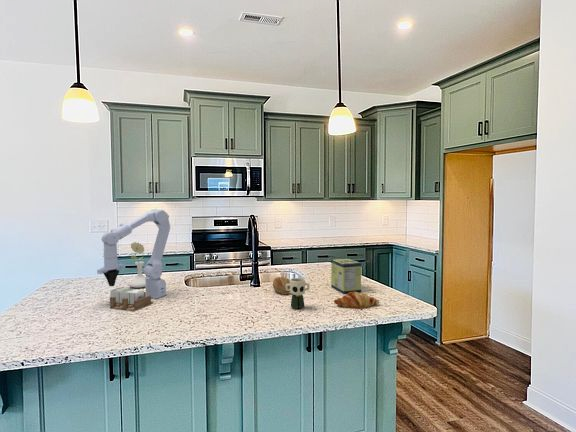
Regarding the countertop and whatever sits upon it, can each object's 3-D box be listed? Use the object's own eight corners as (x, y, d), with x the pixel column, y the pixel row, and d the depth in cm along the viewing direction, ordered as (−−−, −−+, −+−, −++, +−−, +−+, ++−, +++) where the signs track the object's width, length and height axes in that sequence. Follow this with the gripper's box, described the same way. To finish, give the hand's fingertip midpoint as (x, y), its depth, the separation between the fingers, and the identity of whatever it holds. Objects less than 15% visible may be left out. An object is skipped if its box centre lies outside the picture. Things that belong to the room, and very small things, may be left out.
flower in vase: (155, 285, 212) (154, 241, 210) (137, 290, 202) (136, 244, 200) (140, 282, 219) (139, 240, 217) (123, 287, 209) (121, 242, 207)
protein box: (347, 285, 210) (347, 258, 209) (361, 292, 195) (361, 263, 194) (330, 287, 207) (330, 259, 206) (343, 294, 192) (343, 264, 191)
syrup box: (110, 302, 176) (136, 305, 173) (109, 290, 176) (136, 292, 172) (118, 298, 182) (144, 301, 178) (118, 286, 181) (144, 289, 178)
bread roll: (277, 296, 189) (277, 281, 188) (269, 289, 203) (269, 274, 202) (295, 295, 192) (295, 279, 191) (286, 287, 206) (286, 273, 205)
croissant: (376, 310, 177) (374, 293, 180) (383, 306, 168) (381, 288, 171) (332, 311, 175) (331, 294, 178) (337, 307, 166) (335, 289, 169)
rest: (153, 302, 179) (153, 292, 178) (133, 311, 167) (133, 300, 166) (130, 300, 183) (130, 290, 183) (110, 308, 171) (109, 297, 171)
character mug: (286, 310, 166) (286, 281, 165) (284, 305, 173) (284, 278, 172) (310, 309, 167) (310, 281, 167) (308, 304, 174) (308, 277, 174)
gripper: (115, 254, 185) (116, 281, 186) (91, 259, 172) (92, 288, 173) (127, 255, 183) (128, 282, 184) (103, 260, 169) (104, 290, 170)
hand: (111, 285), depth 178 cm, fingers closed
